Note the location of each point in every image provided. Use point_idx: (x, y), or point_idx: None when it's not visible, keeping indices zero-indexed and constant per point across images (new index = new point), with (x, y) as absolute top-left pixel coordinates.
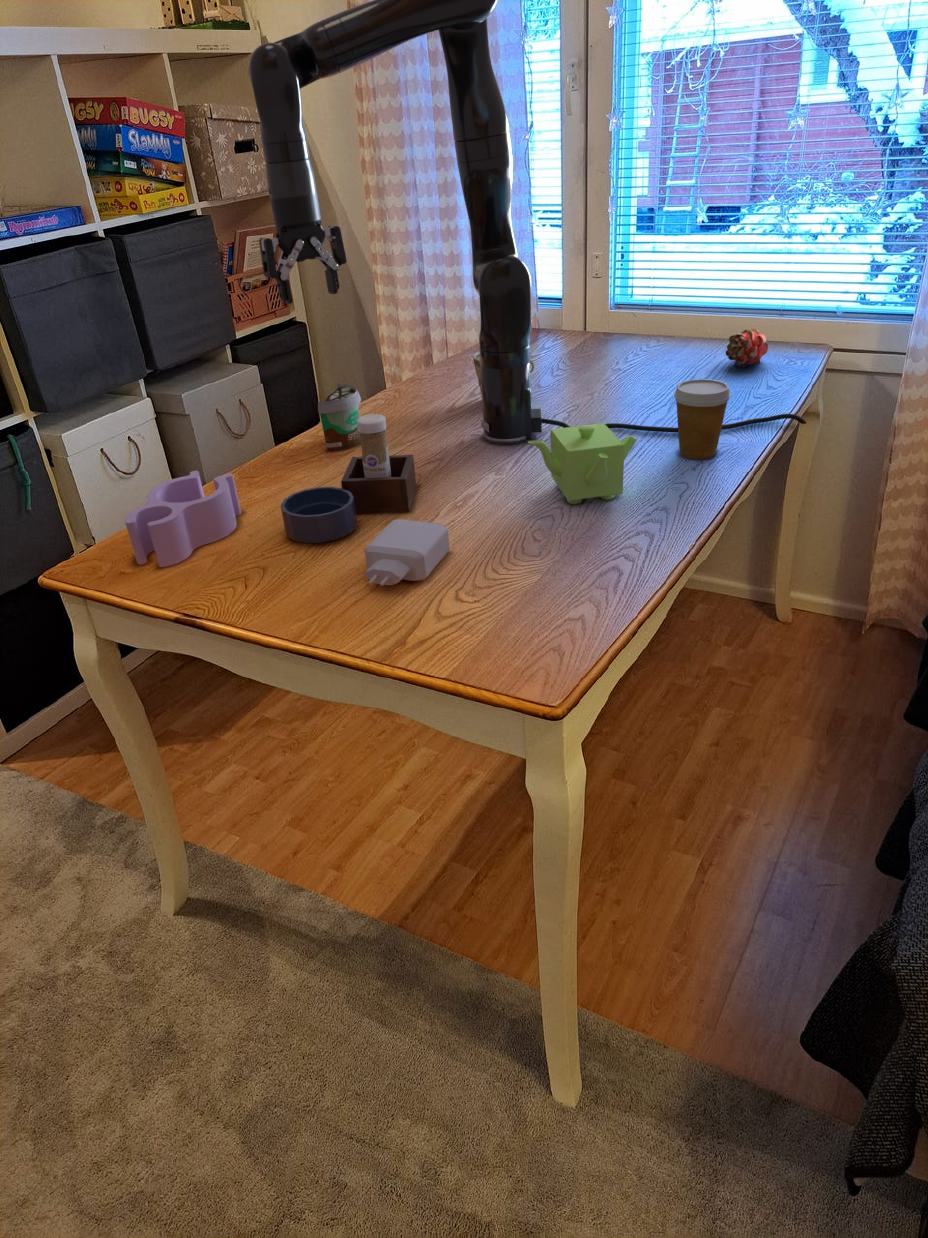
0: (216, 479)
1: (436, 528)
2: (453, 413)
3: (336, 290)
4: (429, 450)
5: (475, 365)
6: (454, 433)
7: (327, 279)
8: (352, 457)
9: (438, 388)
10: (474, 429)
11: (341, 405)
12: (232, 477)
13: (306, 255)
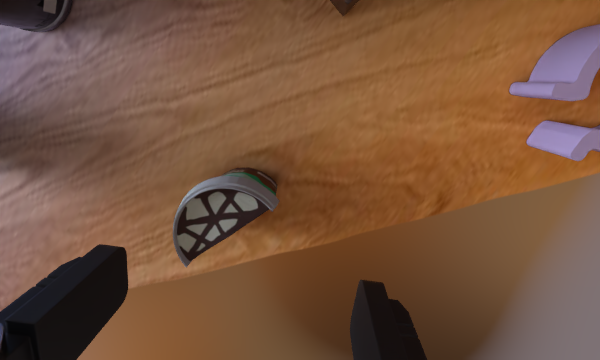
0: (585, 90)
1: None
2: (45, 153)
3: (101, 247)
4: (165, 52)
5: None
6: (93, 79)
7: (85, 333)
8: (349, 1)
9: (5, 258)
10: (57, 65)
11: (239, 181)
12: (556, 82)
13: None
